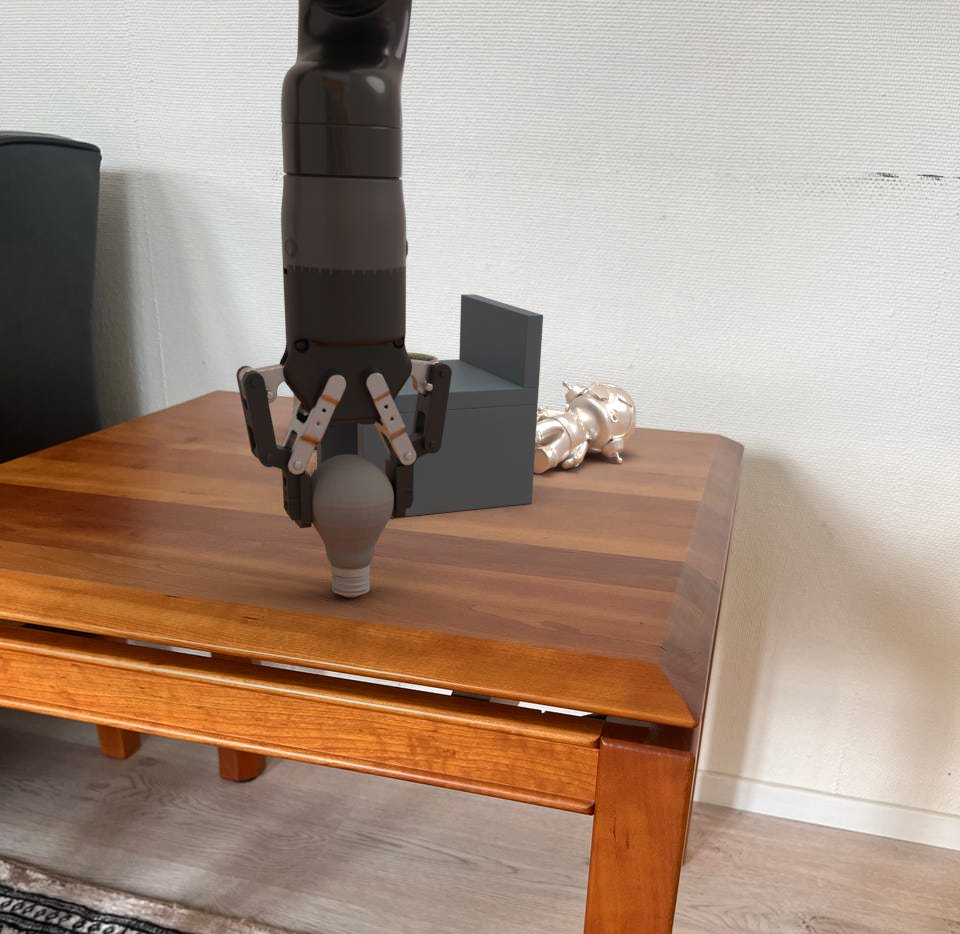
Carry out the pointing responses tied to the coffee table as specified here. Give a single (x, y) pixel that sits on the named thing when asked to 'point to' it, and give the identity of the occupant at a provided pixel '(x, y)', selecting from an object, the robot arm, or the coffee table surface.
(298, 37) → the robot arm
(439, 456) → the grey toy chair
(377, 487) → the light bulb
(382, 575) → the coffee table surface
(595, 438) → the figurine
